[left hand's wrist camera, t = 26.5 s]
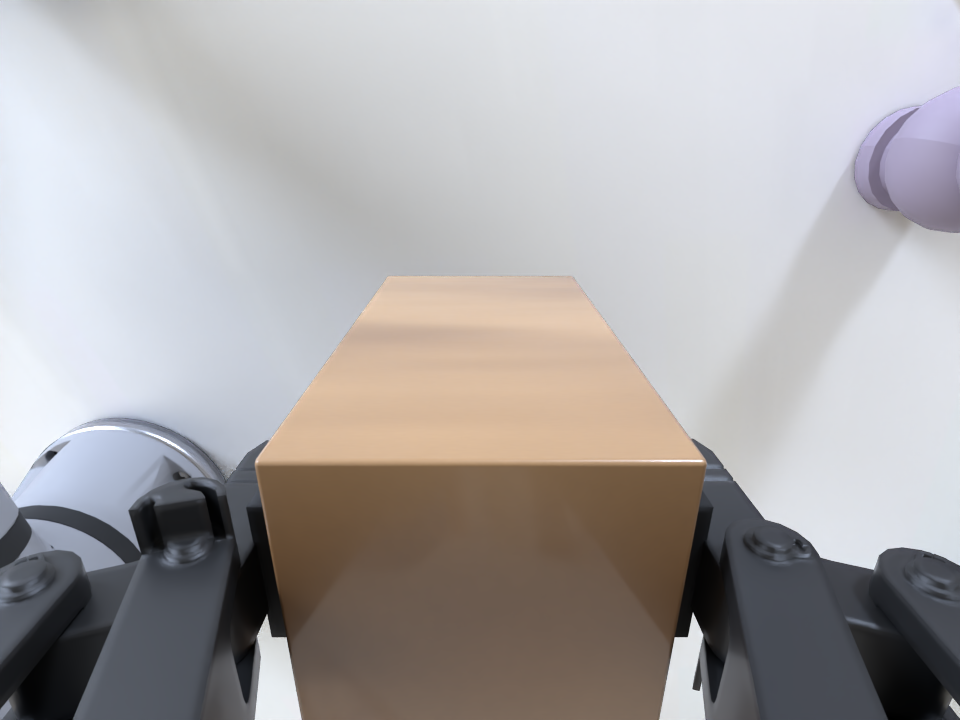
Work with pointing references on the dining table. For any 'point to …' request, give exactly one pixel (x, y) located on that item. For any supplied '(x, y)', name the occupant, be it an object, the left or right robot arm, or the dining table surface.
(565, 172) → the dining table surface
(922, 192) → the cat figurine
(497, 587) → the block
